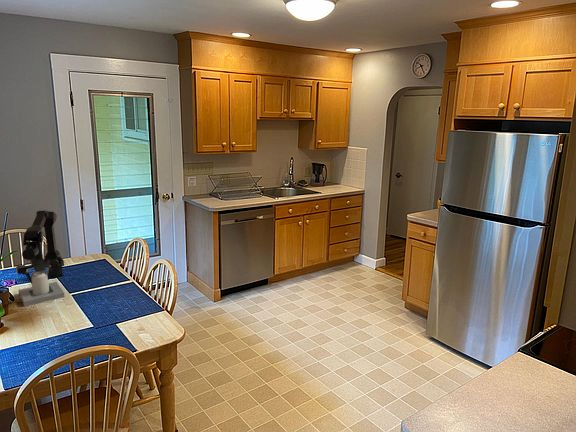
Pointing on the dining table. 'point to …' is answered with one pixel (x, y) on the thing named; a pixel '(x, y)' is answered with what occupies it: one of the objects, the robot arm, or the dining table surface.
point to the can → (40, 282)
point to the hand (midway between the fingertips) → (39, 281)
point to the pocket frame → (31, 298)
